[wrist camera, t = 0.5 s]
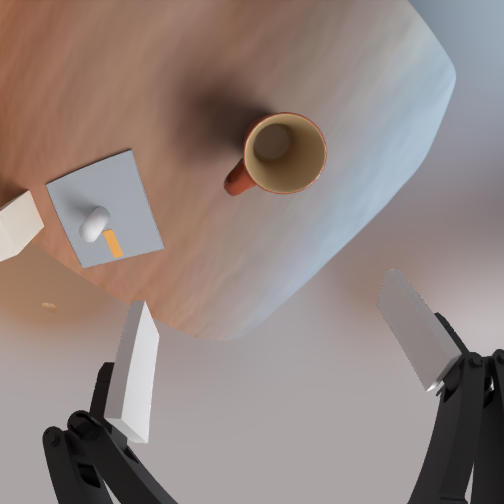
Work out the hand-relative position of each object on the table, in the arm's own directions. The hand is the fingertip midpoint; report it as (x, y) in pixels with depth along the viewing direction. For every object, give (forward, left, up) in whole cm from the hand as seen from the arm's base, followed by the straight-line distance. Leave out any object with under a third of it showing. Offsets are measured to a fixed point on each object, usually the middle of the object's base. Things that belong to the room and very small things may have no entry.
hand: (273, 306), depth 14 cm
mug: (-3, +4, -27) cm, 27 cm away
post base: (+1, -21, -27) cm, 34 cm away
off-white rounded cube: (-4, -39, -27) cm, 48 cm away
